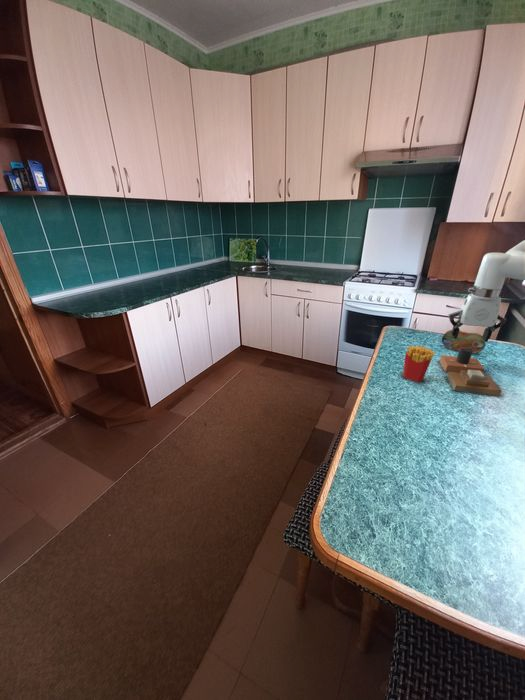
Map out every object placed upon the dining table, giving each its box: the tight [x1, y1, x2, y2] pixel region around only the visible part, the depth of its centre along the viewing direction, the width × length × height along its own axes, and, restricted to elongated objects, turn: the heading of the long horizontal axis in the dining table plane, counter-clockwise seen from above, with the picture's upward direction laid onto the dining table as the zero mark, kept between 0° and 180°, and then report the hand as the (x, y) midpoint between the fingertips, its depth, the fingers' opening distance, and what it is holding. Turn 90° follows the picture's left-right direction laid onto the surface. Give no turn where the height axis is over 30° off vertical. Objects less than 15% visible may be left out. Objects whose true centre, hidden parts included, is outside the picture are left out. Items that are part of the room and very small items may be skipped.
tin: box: [441, 329, 486, 354], centre depth 121 cm, size 15×3×8 cm, turn 55°
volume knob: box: [456, 347, 473, 364], centre depth 107 cm, size 4×4×6 cm
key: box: [467, 370, 485, 380], centre depth 97 cm, size 4×4×2 cm
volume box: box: [439, 354, 486, 374], centre depth 109 cm, size 12×8×3 cm
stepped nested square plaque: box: [446, 370, 502, 397], centre depth 98 cm, size 13×9×4 cm
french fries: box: [402, 345, 435, 383], centre depth 102 cm, size 8×4×12 cm, turn 54°
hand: (469, 338), depth 104 cm, fingers open, 9 cm apart
